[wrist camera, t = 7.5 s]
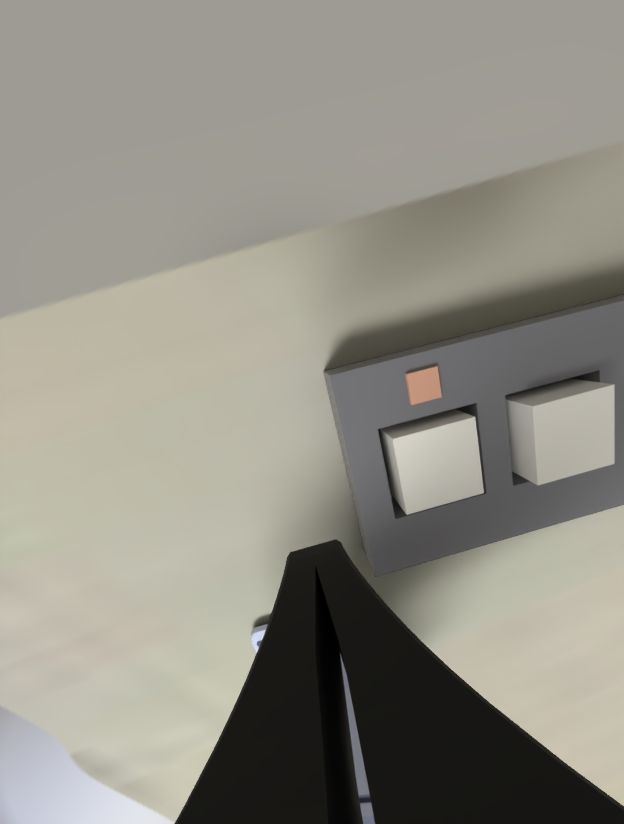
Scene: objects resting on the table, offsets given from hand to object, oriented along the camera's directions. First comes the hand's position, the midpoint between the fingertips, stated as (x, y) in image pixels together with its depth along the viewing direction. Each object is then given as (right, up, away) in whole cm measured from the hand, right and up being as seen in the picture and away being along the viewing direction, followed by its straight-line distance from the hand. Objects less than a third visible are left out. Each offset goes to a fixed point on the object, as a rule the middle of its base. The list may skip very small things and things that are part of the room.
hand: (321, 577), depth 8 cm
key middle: (+13, +4, +11) cm, 18 cm away
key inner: (+6, +2, +11) cm, 12 cm away
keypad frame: (+13, +4, +11) cm, 18 cm away
